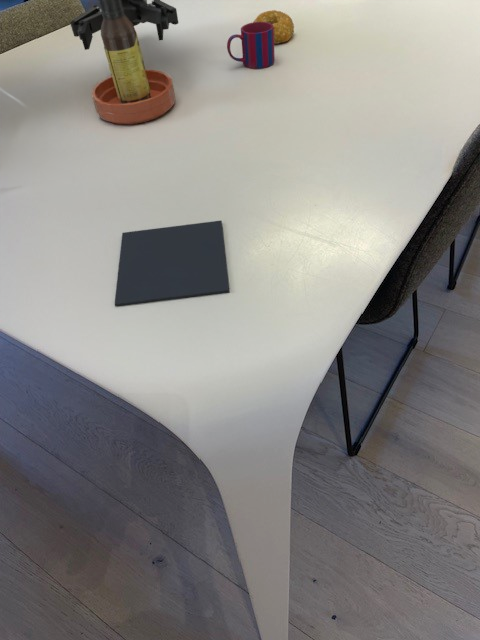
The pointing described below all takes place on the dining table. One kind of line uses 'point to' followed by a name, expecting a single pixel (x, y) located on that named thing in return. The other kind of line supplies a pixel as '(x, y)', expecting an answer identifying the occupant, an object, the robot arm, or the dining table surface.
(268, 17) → the bagel
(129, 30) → the sauce bottle
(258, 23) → the mug
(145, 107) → the dish
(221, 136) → the dining table surface
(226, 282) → the mat
